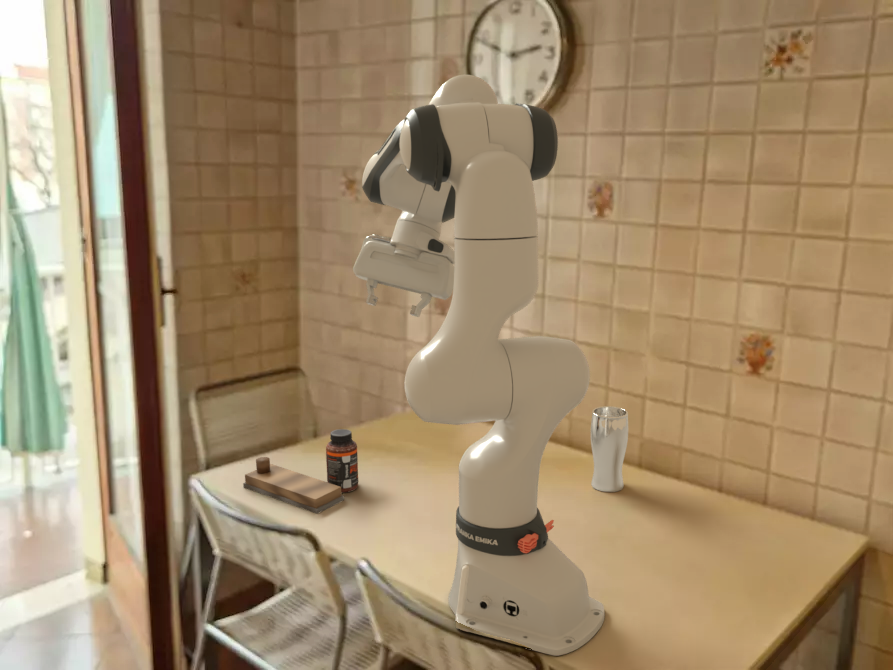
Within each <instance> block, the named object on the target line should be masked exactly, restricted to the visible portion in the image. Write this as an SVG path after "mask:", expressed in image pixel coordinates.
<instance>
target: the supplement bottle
mask: <svg viewBox="0 0 893 670" xmlns="http://www.w3.org/2000/svg"><path fill="white" fill-rule="evenodd" d="M325 459H326V479H327V481H326V482H328V483H331V484H334V485H337V486H340V487H341V494H342V493H343V494H344V493H345V494H346V493H351V492H353V491H355V490H356V489H357V488H358V487H359V467H358V466H359V463H358V462H359V459H358V444H357V442H356V441H355V440H353V435H352V431H351V430H350V429H347V428H346V429H344V428H339V429H335V430H332V431H331V432H330V441H329V442H327V444H326V446H325Z"/></svg>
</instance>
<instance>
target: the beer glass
mask: <svg viewBox="0 0 893 670" xmlns="http://www.w3.org/2000/svg"><path fill="white" fill-rule="evenodd" d="M591 416H592V417H591V424H590V444H591V445H590V446H591V452H592V459H593V460H592V461H593V473H592V477H591V478H592V480H591V481H590V483H591V487H592V488H593V489H594V490H597V491H600V492H603V493H615V492H619V491H621V490H623V488H624V477H623V463H624V460H625V455H626V451H627V447H628V440H629V412H628V411H627V410H626V409H625V408H622V407H618V406H613V405H611V406H610V405H607V406H606V405H605V406H604V405H603V406H598V407H595V408H593V410H592V415H591Z"/></svg>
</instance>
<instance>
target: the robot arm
mask: <svg viewBox="0 0 893 670" xmlns="http://www.w3.org/2000/svg"><path fill="white" fill-rule="evenodd" d="M558 149H559V135H558V130H557V126H556V121H555V119H554V118H553V117H552V116H551V115H550V113H549V112H548V111H547V110H546V109H544V108H542V107H539V106H534V105H530V104H525V103H519V102H516V103H515V104H507V103H498V97H497V94H496V93H495V91H494V89H493V87H492V86H491V85H490V84H489V83H488V82H487V81H485V80H484V79H482V78H480V77H478V76H476V75H472V74H460V75H459V74H458V75H454V76H453V77H451V78H449V79H448V80H446V81H445V82H444V83H443V84H442V85H441V86H440V87H439V88H438V90H437V91H436V92H435V94H434V95H433V97H432V98H431V100H430V101H429V103H428V104H427V105H421V106H419V107H414V108H412V109H411V110H410V111H409V112H408V114H407V115H406V116H405V118H403V119H402V120H401V121H400V122H399V123H398V124H397V125H396V126H395V128H394V129H393V130H392V131H391V132H390V134H389V135H388V137H387V138H386V139H385V140H384V142H383V144H382V145H381V147H380V148H379V149H378V150H377V151H375V152H374V153H373V155H372V156H371V157H370V158H369V160H368V161H367V163H366V165H365V167H364V170H363V174H362V179H361V185H362V186H361V188H362V190H363V192H364V194H365V196H366V198H367V199H368V201H370V202H371V203H374V204H379V205H381V206H387V207H390V208H394V209H396V210H399V211H401V213H400V215H399V217H398V218H397V220H396V223H395V226H394V230H393V233H392V235H391V237H390V236H389V237H388V236H383V235H379V234H376V233H375V234H374V233H373V234H372V235H369V236H366V237H365V238H364V239H363V242H362V245H361V249H360V251H359V254H358V256H357V258H356V260H355V263H354V265H353V267H352V271H353V274H354V275H355V277H356V278H358V279H360V280H363V281H365V282H366V283H365V286H366V289H367V297H366V301H365V303H366V304H367V305H369V306H370V305H371V306H374V307H376V305H377V302H378V300H379V297H377V296H376V295H375V290H374V289H377V286H378V284H379V285H384V286H387V287H391V288H395V289H400V290H403V291H407V292H412V293H415V294H418V295H419V294H420V299H421V300H420V301H419V302H418V303H417V304H416V305H414V304H412V305H411V308H410V311H409V315H411V317H412V316H413V317H417V318H420V316H421V313H422V311H423V309H424V308H425V307H426V306H427V305H429V304H430V303H431V301H432V298H435V299H440V300H443V301H446V300H448V299H449V298H451V297H452V298H451V302H450V304H449V308H448V311H447V313H446V316H445V319H444V320H443V322H442V324H441V326H440V328H438V329H439V330H437V332H436V333H435V334H434V336H433V337H432V339H431V340H430V341H429V342H428V343H427V344H426V345H425V346H423V347H422V348H421V349H420V350H419V351H417V353H416V354H415V355H414V356H413V358H412V359H411V360H410V362H409V364H408V365H407V369H406V371H405V376H404V393H405V397H406V399H407V402H408V405H409V406H410V409H411V410H412V411H413V413H414V414H415V415H416V416H417V417H418V418H419V419H421V421H423V422H424V423H431V424H432V423H433V424H444V425H455V426H459V425H467V424H468V425H469V424H475V423H476V424H477V423H485V422H494V423H493V425H492V427H491V428H490V429H489V431H488V432H486V434H485V435H484V436H483V437H481V438H480V439H477V440H476V441H475V442H473V443H472V444H470V446H468V448H467V449H466V450H465V451H464V453H463V455H462V456H461V458H460V461H459V465H458V507H457V508H456V511H455V535H456V538H457V539H458V540H457V541H458V544H457V545H458V546H457V554H456V555H457V557H456V564H455V571H454V576H453V581H452V583H451V584H452V585H451V589H450V591H449V594H448V598H447V599H448V605H449V607H450V609H451V610H452V612H453V614H454V616H455V619H454V622H455V621H457V622H458V623H461V624H463V625H465V626H467V627H470V628H472V629H474V630H476V631H480V632H483V633H486V634H490V635H493V636H497V637H502V638H506V639H510V640H513V641H515V642H518V643H520V644H522V645H525V646H527V647H529V648H531V649H532V650H531V649H530V650H531V651H535V652H539V653H543V654H546V655H550V656H554V657H555V656H556V657H557V656H562V655H566V654H569V653H571V652H573V651H576V650H578V649H579V648H581V647H582V646H584V645H585V644H586V643H588V642H589V641H591V639H592V638H593V637H594V636H595V635H596V634H597V632H599V630H600V629H601V628H602V625H603V624H604V621H605V616H606V615H605V607H604V603H602V602H601V601H599V600H598V599H595V598H593V597H591V596H589V595H590V594H589V589H588V587H589V586H588V583H587V578H586V576H585V573H584V572H583V570H582V569H580V568H579V566H578V565H576V564H575V563H574V562H573V561H572V560H571V559H570V558H569V557H568V556H567V555H566V554H565V553H564V552H563V551H562V550H561V548H559V547H558V546H557V545H556V543H554V542H553V541H552V540H551V539H550V538H549V533H548V532H550V531H551V530H552V529H553V528H554V527H555V526H554V525H553V524H554V521H555V519H551V520H550V521H548V523H546V524H545V522H544V519H543V517H542V514H541V512H540V509H539V507H538V495H539V494H538V493H539V489H538V488H539V478H540V467H541V463H542V459H543V455H544V451H545V449H546V447H547V445H548V442H549V440H550V439H551V437H552V435H553V433H554V432H555V430H556V428H557V427H559V425H560V423H561V422H562V420H564V418H565V417H566V416H567V415H568V414H569V413H570V412H571V411H572V410H573V409H575V408H576V407H577V406H579V405H580V404H581V403H582V401H584V398H585V396H586V394H587V392H588V390H589V386H590V381H591V378H590V377H591V371H590V365H589V362H588V358H587V357H586V355H585V353H584V352H583V350H582V349H581V347H580V346H579V345H578V344H577V343H575V342H574V341H573V340H572V339H566V338H559V337H553V336H552V337H551V336H543V335H534V336H524V337H523V336H522V337H521V336H520V337H513V338H512V337H510V338H500V337H499V336H500V333H501V330H502V328H503V327H504V325H505V324H506V322H507V321H508V320H509V318H511V317H512V316H513V315H515V314H517V313H518V312H520V311H521V310H523V309H524V308H526V307H527V306H528V305H529V304H530V303H531V302H532V301H533V299H534V298H535V296H536V294H537V291H538V288H539V236H538V235H539V228H538V227H539V225H538V213H537V212H538V211H537V210H538V209H537V203H536V202H537V201H536V194H535V190H534V183H533V181H537V180H540V179H543V178H546V177H548V175H549V174H550V172H551V171H552V169H553V168H554V166H555V164H556V161H557V156H558ZM370 202H369V203H370ZM453 219H454V221H453V237H454V239H453V242H454V245H453V247H454V249H453V248H452V247H450V246H449V245H448V244H447V243H446V242H444V241H442V240H441V239H440V237H441V230H442V229H441V228H442V223H443V224H444V223H446V222H449V221H451V220H453Z"/></svg>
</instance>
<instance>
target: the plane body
mask: <svg viewBox="0 0 893 670" xmlns="http://www.w3.org/2000/svg"><path fill="white" fill-rule="evenodd" d="M255 463H256V466H255V467H256V470H255V469H254V470H253V471H250V472H248V473H246V474H244V482H243V483H242V485H243V488H244V489H248V490H251V491H253V492H256V493H259V494H262V495H265V496H267V497H269V498H272V499H276V500H278V501H281V502H284V503H286V504H289V505H291V506H295V507H297V508H299V509H300V508H301V509H303V510H306V511H308V512H311V513H314V514H319V513H321V512H324V511H325V510H327V509H329V508H331V507H333V506H335V505H337V504H339V503H341V502H343V501H344V500H345V496H344V495H342V493H341V487H340V486H337V485H334V484H331V483H328V482H327V481H325V480H321V479H318V478H315V477H312V476H309V475H306V474H303V473H300V472H297V471H294V470H291V469H287V468H284V467H282V466H280V465H277V464H276V465H275V464H272V463H271V459H270V458H269V457H268V456H261V457H257V458H256V459H255Z"/></svg>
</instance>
